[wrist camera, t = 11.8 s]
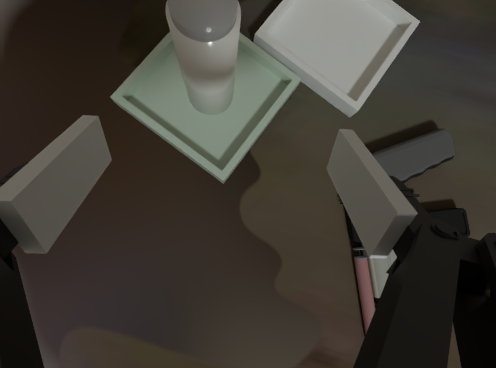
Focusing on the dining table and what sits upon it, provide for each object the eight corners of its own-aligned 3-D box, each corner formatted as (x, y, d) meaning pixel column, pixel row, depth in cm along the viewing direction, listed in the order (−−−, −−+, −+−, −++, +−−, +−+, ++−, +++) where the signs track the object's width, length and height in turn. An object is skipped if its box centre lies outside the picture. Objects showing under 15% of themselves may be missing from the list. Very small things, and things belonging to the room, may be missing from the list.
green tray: (199, 14, 31) (197, 0, 29) (296, 87, 31) (301, 78, 29) (117, 105, 29) (110, 97, 27) (223, 183, 29) (223, 181, 27)
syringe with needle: (509, 403, 28) (381, 431, 26) (487, 388, 30) (368, 414, 28) (453, 125, 31) (335, 135, 29) (437, 131, 33) (327, 141, 32)
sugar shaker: (206, 64, 30) (195, -50, 17) (241, 90, 30) (257, -4, 17) (178, 96, 29) (145, 2, 16) (215, 123, 29) (210, 51, 16)
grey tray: (318, -35, 34) (324, -51, 32) (408, 33, 34) (420, 21, 32) (252, 45, 31) (254, 33, 29) (349, 117, 32) (358, 111, 30)
